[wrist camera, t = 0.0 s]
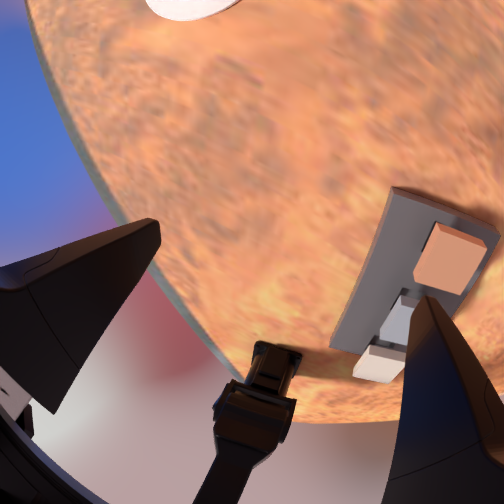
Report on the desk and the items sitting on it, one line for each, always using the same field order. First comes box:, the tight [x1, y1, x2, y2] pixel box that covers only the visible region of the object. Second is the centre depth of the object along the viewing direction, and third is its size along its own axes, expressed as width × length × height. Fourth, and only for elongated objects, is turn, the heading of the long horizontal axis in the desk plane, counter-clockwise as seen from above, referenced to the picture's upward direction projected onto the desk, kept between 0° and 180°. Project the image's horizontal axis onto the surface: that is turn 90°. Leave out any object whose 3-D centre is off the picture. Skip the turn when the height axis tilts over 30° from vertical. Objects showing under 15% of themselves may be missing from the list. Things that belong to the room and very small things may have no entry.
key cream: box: [353, 344, 406, 384], centre depth 25 cm, size 4×4×2 cm
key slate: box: [380, 295, 420, 345], centre depth 21 cm, size 4×4×2 cm
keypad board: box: [329, 187, 501, 355], centre depth 23 cm, size 19×11×2 cm, turn 175°
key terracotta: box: [413, 222, 487, 295], centre depth 17 cm, size 4×4×2 cm
